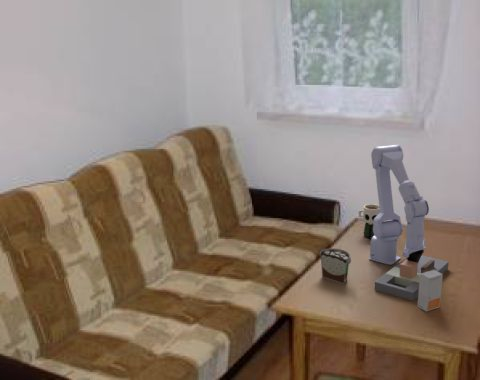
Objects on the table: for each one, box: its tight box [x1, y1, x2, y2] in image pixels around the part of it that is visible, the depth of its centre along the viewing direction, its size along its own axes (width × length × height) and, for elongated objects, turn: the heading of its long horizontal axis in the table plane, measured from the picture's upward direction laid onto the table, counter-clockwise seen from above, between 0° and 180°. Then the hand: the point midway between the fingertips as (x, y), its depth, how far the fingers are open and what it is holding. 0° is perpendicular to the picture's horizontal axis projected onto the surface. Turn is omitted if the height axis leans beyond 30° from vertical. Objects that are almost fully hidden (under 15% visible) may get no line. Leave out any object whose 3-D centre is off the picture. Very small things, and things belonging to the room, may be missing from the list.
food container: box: [318, 248, 352, 285], centre depth 226 cm, size 12×6×10 cm, turn 47°
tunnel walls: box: [400, 257, 435, 273], centre depth 226 cm, size 9×8×2 cm
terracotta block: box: [399, 260, 418, 279], centre depth 220 cm, size 4×4×4 cm
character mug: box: [358, 203, 380, 239], centre depth 262 cm, size 11×7×13 cm, turn 70°
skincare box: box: [417, 270, 444, 312], centre depth 203 cm, size 6×4×12 cm
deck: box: [374, 254, 449, 302], centre depth 224 cm, size 14×30×3 cm, turn 141°
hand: (412, 269), depth 223 cm, fingers closed
